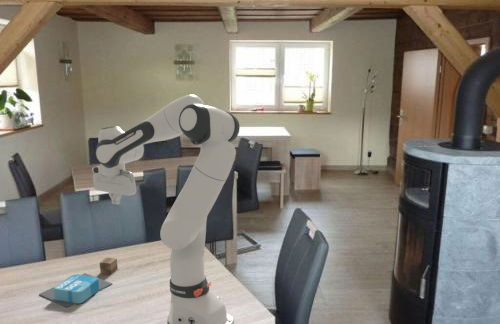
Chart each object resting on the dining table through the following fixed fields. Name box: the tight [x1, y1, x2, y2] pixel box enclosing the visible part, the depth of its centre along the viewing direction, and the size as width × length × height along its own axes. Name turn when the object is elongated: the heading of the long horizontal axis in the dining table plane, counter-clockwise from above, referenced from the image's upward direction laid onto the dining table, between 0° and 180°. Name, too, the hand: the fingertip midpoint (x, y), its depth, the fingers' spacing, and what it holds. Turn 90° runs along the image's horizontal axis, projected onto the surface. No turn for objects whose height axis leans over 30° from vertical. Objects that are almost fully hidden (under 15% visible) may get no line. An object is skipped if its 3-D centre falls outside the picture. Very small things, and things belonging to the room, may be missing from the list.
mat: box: [38, 272, 113, 308], centre depth 161 cm, size 17×20×1 cm
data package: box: [54, 274, 100, 304], centre depth 157 cm, size 12×4×12 cm
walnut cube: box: [99, 257, 119, 275], centre depth 176 cm, size 5×5×5 cm
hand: (116, 203), depth 162 cm, fingers closed
